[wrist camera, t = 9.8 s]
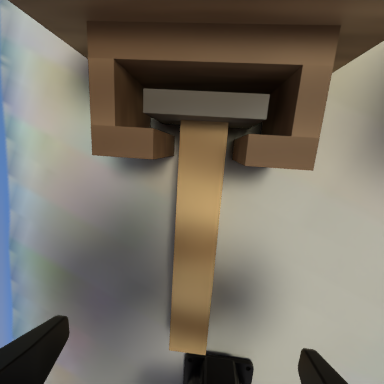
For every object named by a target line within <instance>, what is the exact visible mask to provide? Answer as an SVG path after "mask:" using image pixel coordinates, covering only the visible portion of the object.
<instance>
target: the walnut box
mask: <svg viewBox="0 0 384 384" xmlns="http://www.w3.org/2000/svg"><path fill="white" fill-rule="evenodd" d="M8 1H10V2H11V3H13V4H14V5H15V6H17V7H18V8H19V9H21V10H22V11H23V12H25V13H26V14H28V15H29V16H30V17H32V18H33V19H34V20H36V21H37V22H38V23H40V24H41V25H42V26H44V27H45V28H47V29H48V30H49V31H51V32H52V33H53V34H55V35H56V36H57V37H59V38H60V39H61V40H63V41H64V42H66V43H67V44H68V45H70V46H71V47H72V48H74V49H75V50H76V51H78V52H79V53H81V54H82V55H83V56H85V57H86V58H87V59H88V67H89V90H90V114H91V137H92V155H98V156H113V157H127V158H141V159H157V158H163V157H169V156H174V142H175V136H173V135H170V134H168V133H165V132H162V131H159V130H157V129H154V128H150V125H151V117H150V116H148V115H147V114H145V113H143V88H144V89H166V90H188V91H210V92H232V93H253V94H270V97H269V104H268V111H267V119H266V120H264V121H263V125H262V132H261V135H259V134H247V135H245V136H242V137H240V138H237V139H235V140H234V147H233V156H232V160H234V161H236V162H238V163H240V164H242V165H244V166H256V167H270V168H284V169H298V170H313V168H314V163H315V158H316V153H317V148H318V143H319V137H320V132H321V127H322V122H323V117H324V111H325V106H326V101H327V96H328V91H329V85H330V80H331V75H332V73H333V72H335V71H336V70H338V69H339V68H341V67H342V66H344V65H346V64H347V63H349V62H350V61H352V60H354V59H355V58H357V57H358V56H360V55H362V54H363V53H365V52H366V51H368V50H370V49H371V48H373V47H374V46H376V45H378V44H379V43H381V42H382V41H384V0H8Z"/></svg>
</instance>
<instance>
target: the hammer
mask: <svg viewBox="0 0 384 384" xmlns="http://www.w3.org/2000/svg"><path fill="white" fill-rule="evenodd" d="M269 97H270V94H253V93H232V92H210V91H188V90H166V89H144V88H143V113H145V114H147V115H148V116H150V117H152V118H154V119H156V120H158V121H159V122H161V123H163V124H175V125H180V143H179V163H178V183H177V203H176V223H175V243H174V263H173V283H172V303H171V322H170V342H169V350H171V351H178V352H185V353H192V354H200V355H206V346H207V336H208V326H209V316H210V306H211V296H212V286H213V276H214V266H215V255H216V245H217V235H218V225H219V215H220V205H221V195H222V185H223V175H224V165H225V155H226V145H227V135H228V128H244V129H249V128H251V127H253V126H255V125H257V124H259V123H261V122H262V121H264V120H266V119H267V111H268V104H269Z"/></svg>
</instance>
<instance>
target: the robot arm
mask: <svg viewBox="0 0 384 384" xmlns="http://www.w3.org/2000/svg"><path fill="white" fill-rule="evenodd" d="M68 337H69V322H68V317H67V316H61V315H57V316H55V317H53V318H51V319H49V320H48V321H46V322H44V323H43V324H41V325H39V326H38V327H36V328H34V329H32V330H31V331H29V332H27V333H26V334H24V335H22V336H21V337H19V338H17V339H16V340H14V341H12V342H10V343H9V344H7V345H5V346H4V347H2V348H0V384H44V382H45V380H46V379H47V377H48V375H49V373H50V371H51V369H52V368H53V366H54V364H55V362H56V360H57V358H58V357H59V355H60V353H61V351H62V349H63V347H64V345H65V344H66V342H67V340H68ZM253 370H254V369H253V363H252V362H251V361H250V360H244V359H237V358H230V357H223V356H216V355H209V354H206V355H200V354H192V353H186V356H185V367H184V381H183V384H251V382H252V376H253ZM298 372H299V376H300V380H301V384H348V383H347V382H346V381H345V380H344V379H343V378H342V377H341V376H340V375H339V374H338V373H337V372H336V371H335V370H334V369H333V368H332V367H331V366H330V365H329V364H328V363H327V362H326V361H325V360H324V358H323V357H322V356H321V355H320V354H319V353H318V352H317V351H315V350H313V349H307V348H303V349H302V351H301V355H300V359H299V363H298Z"/></svg>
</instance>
